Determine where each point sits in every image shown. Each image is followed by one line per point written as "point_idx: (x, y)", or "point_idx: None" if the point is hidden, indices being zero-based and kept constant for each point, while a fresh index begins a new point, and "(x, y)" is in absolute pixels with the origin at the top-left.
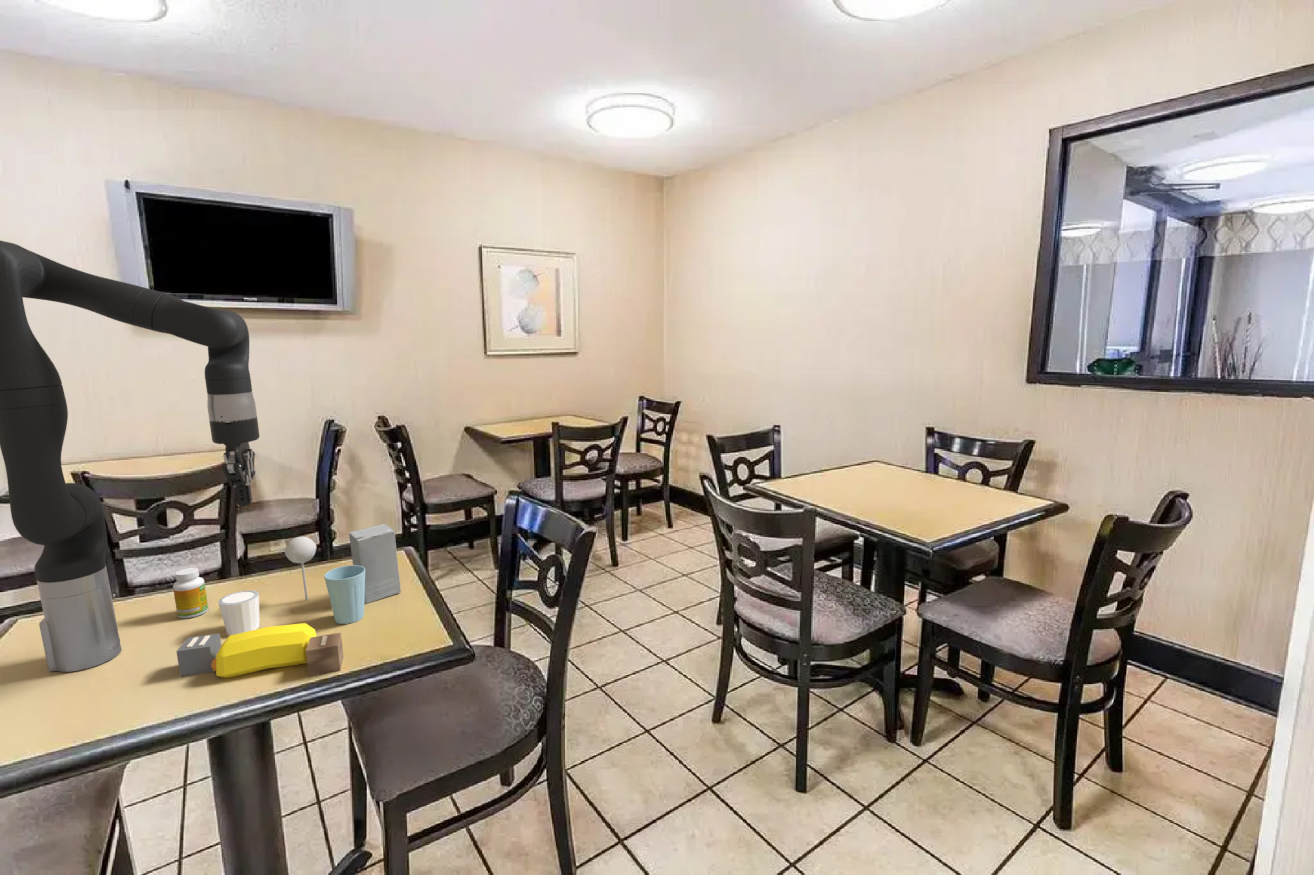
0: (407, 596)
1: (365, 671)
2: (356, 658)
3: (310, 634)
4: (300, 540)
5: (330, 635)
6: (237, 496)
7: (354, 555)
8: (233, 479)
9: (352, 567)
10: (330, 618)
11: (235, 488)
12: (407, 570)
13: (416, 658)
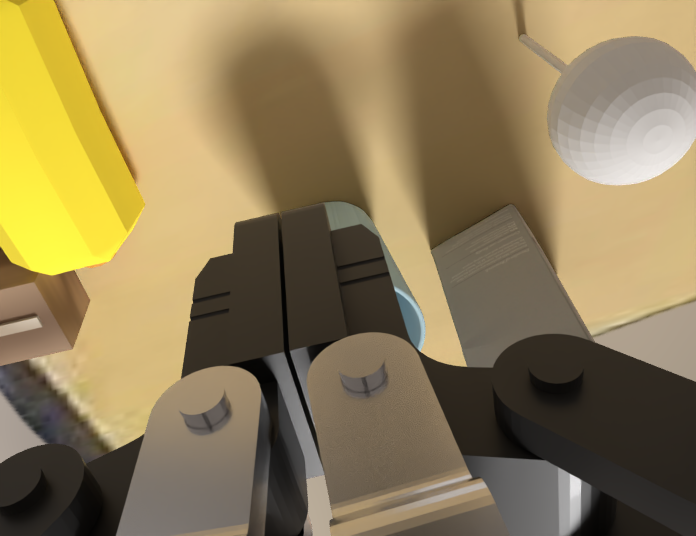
0: (454, 343)
1: (18, 370)
2: (81, 332)
3: (63, 268)
4: (621, 153)
5: (52, 329)
6: (234, 287)
7: (519, 323)
8: (138, 520)
9: (416, 336)
10: (343, 180)
11: (230, 353)
12: (668, 292)
13: (87, 447)
